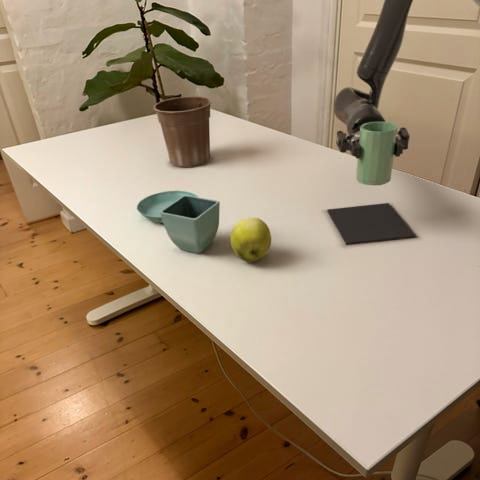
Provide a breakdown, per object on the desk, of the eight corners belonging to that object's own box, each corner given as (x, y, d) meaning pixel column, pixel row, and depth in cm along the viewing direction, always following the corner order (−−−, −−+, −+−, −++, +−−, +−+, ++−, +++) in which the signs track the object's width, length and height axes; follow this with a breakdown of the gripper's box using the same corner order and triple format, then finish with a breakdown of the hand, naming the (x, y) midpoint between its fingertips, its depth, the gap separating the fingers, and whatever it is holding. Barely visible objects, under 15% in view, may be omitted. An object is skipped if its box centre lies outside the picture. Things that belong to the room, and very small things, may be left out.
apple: (269, 245, 94) (268, 208, 89) (274, 268, 87) (273, 229, 82) (231, 248, 94) (228, 211, 89) (233, 271, 87) (229, 233, 82)
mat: (388, 204, 105) (388, 202, 105) (415, 237, 92) (415, 235, 92) (327, 211, 105) (327, 209, 104) (346, 245, 92) (346, 242, 92)
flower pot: (201, 261, 91) (195, 219, 86) (166, 252, 95) (158, 211, 89) (224, 241, 97) (220, 200, 91) (190, 233, 101) (184, 194, 95)
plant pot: (210, 170, 131) (203, 110, 121) (156, 170, 134) (145, 111, 124) (222, 151, 143) (216, 95, 134) (172, 152, 146) (163, 97, 136)
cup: (384, 171, 94) (390, 120, 88) (395, 183, 89) (402, 129, 83) (352, 174, 94) (356, 123, 88) (361, 187, 89) (366, 133, 83)
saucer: (146, 233, 103) (144, 222, 101) (133, 208, 114) (131, 198, 112) (209, 218, 106) (207, 207, 105) (190, 196, 117) (188, 185, 116)
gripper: (332, 109, 98) (340, 133, 85) (402, 105, 96) (421, 129, 83) (331, 145, 102) (338, 173, 89) (397, 142, 101) (415, 170, 88)
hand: (378, 152), depth 86 cm, fingers closed on cup, 6 cm apart
